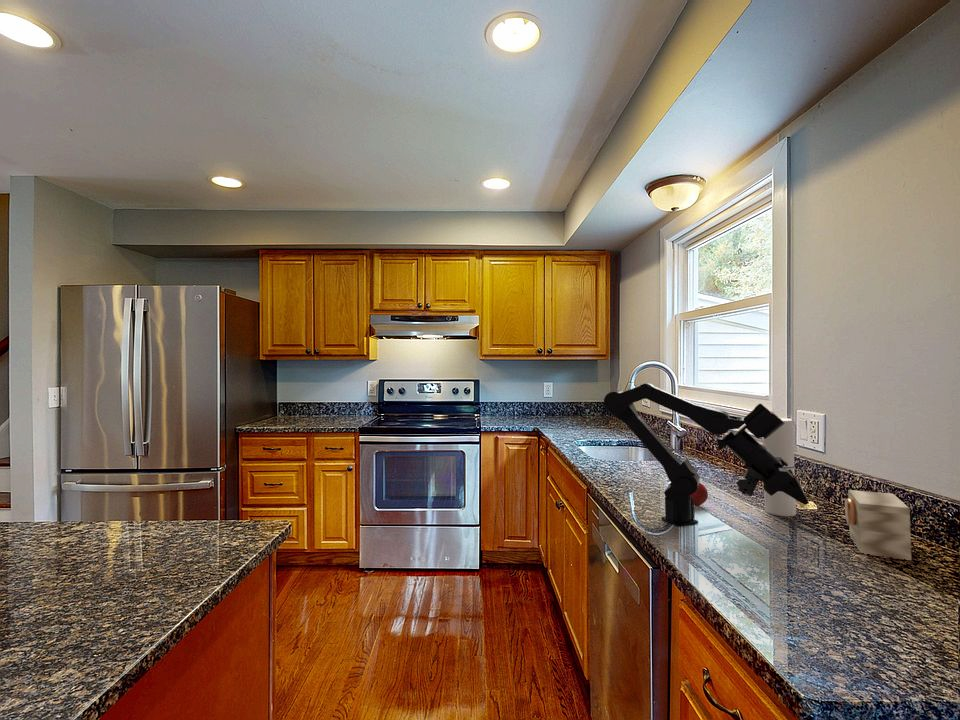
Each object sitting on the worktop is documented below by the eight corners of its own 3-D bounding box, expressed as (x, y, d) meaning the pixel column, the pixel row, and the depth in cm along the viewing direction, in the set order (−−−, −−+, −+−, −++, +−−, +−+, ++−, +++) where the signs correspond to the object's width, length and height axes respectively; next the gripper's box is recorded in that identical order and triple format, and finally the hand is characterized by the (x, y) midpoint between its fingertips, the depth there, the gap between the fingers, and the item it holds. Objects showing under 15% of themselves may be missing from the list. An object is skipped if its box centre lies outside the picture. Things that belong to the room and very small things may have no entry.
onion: (684, 508, 133) (684, 479, 133) (686, 502, 138) (685, 475, 138) (707, 510, 130) (706, 481, 130) (708, 505, 135) (707, 477, 135)
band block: (861, 553, 99) (859, 503, 99) (849, 535, 109) (848, 489, 109) (911, 560, 95) (909, 507, 95) (894, 540, 105) (892, 493, 106)
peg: (850, 528, 102) (849, 502, 102) (845, 520, 107) (844, 495, 107) (905, 534, 98) (904, 507, 98) (898, 526, 103) (897, 500, 103)
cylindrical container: (801, 516, 123) (797, 420, 124) (771, 515, 125) (767, 420, 125) (789, 508, 130) (785, 418, 131) (760, 507, 132) (757, 418, 132)
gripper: (725, 465, 125) (775, 513, 119) (722, 481, 108) (780, 537, 103) (759, 437, 121) (813, 485, 115) (762, 449, 105) (824, 506, 99)
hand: (806, 503), depth 108 cm, fingers closed
